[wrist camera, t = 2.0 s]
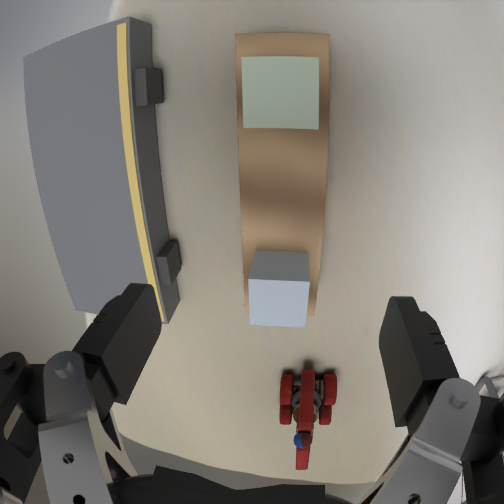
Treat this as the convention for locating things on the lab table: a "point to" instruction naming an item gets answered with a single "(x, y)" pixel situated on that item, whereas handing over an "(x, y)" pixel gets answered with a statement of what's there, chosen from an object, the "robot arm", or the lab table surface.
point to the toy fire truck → (306, 408)
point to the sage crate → (280, 92)
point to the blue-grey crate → (279, 288)
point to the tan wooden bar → (284, 165)
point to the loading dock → (102, 163)
